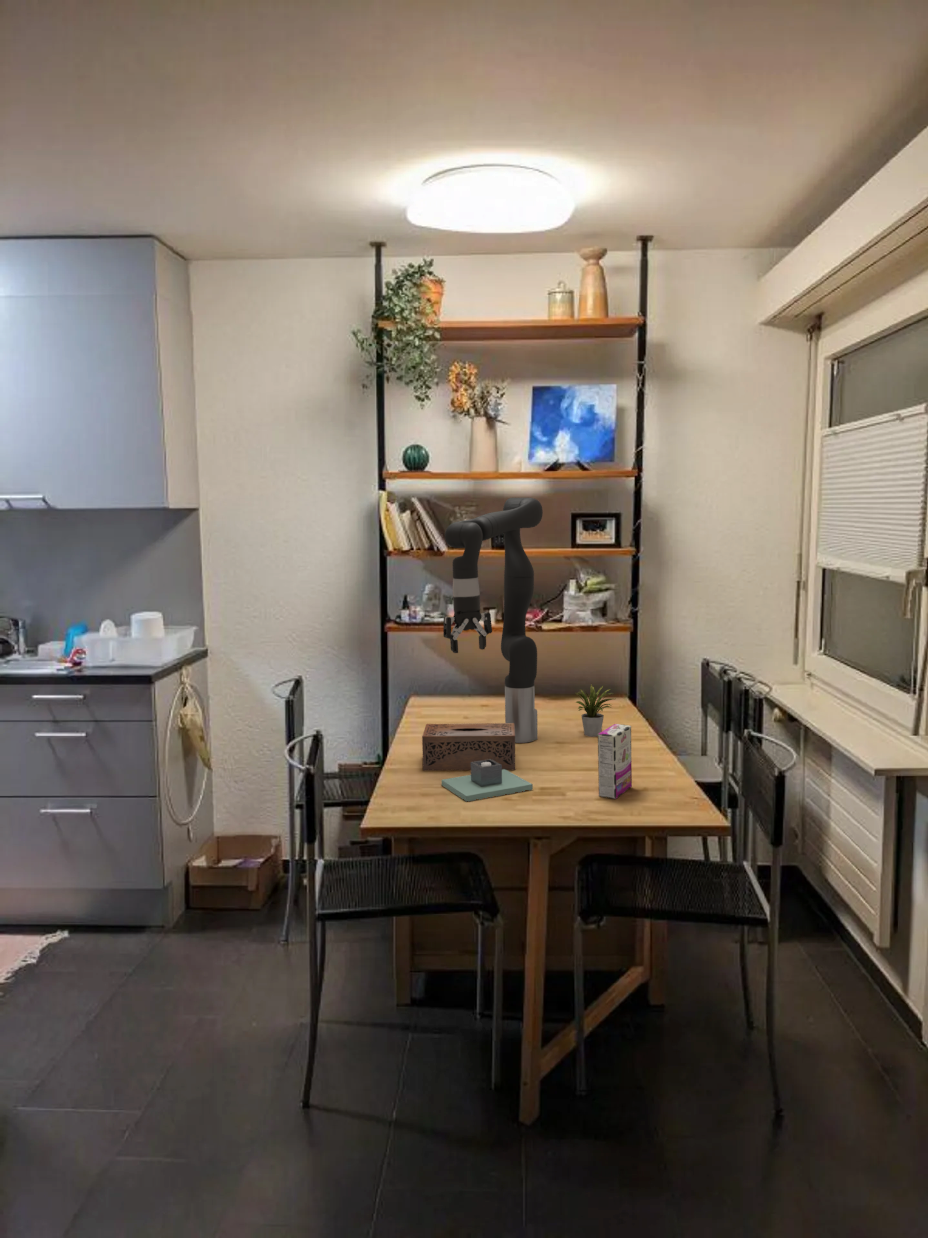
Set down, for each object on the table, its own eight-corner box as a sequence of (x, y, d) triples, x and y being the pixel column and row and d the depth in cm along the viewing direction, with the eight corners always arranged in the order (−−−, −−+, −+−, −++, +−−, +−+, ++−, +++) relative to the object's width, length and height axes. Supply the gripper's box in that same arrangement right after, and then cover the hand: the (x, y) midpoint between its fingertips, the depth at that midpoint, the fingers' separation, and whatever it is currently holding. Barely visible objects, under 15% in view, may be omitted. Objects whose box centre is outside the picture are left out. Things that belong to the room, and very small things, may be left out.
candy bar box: (614, 784, 229) (614, 723, 227) (632, 787, 226) (632, 725, 224) (596, 796, 220) (596, 732, 218) (615, 799, 217) (615, 735, 215)
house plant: (593, 744, 268) (593, 691, 266) (560, 735, 278) (559, 685, 276) (622, 735, 277) (623, 684, 275) (589, 727, 288) (589, 679, 286)
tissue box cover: (423, 771, 244) (422, 736, 243) (427, 756, 259) (426, 723, 258) (515, 770, 243) (514, 735, 242) (514, 756, 258) (514, 723, 256)
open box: (491, 777, 232) (491, 758, 231) (501, 783, 227) (501, 764, 226) (471, 780, 230) (470, 762, 229) (481, 787, 224) (481, 768, 224)
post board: (504, 774, 239) (504, 751, 238) (532, 789, 226) (532, 765, 225) (441, 785, 231) (441, 761, 230) (466, 801, 218) (465, 776, 217)
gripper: (482, 590, 252) (484, 646, 254) (437, 595, 245) (440, 652, 247) (494, 592, 245) (497, 649, 247) (449, 597, 239) (452, 655, 241)
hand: (468, 651), depth 247 cm, fingers open, 8 cm apart
